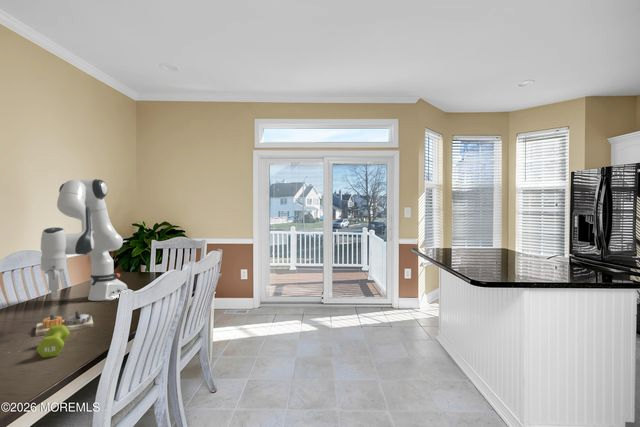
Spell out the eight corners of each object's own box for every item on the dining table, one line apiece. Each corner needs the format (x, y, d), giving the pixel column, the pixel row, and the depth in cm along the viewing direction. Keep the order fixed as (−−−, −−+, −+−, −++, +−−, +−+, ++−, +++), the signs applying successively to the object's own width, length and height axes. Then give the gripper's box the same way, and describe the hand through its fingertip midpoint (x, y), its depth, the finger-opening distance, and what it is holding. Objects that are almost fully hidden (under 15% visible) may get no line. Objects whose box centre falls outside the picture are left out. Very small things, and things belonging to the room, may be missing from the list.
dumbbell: (63, 356, 123) (63, 336, 123) (35, 360, 119) (35, 340, 119) (70, 340, 137) (70, 322, 137) (45, 343, 134) (45, 325, 133)
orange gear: (43, 324, 150) (43, 318, 150) (62, 321, 154) (62, 315, 154) (42, 329, 144) (42, 322, 144) (62, 326, 149) (62, 319, 149)
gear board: (91, 318, 163) (91, 306, 163) (93, 326, 153) (93, 313, 153) (37, 327, 151) (37, 313, 151) (35, 336, 141) (35, 321, 141)
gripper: (63, 267, 143) (63, 300, 143) (62, 260, 159) (62, 290, 159) (44, 269, 139) (44, 302, 139) (45, 262, 155) (45, 292, 155)
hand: (54, 296), depth 149 cm, fingers open, 8 cm apart
